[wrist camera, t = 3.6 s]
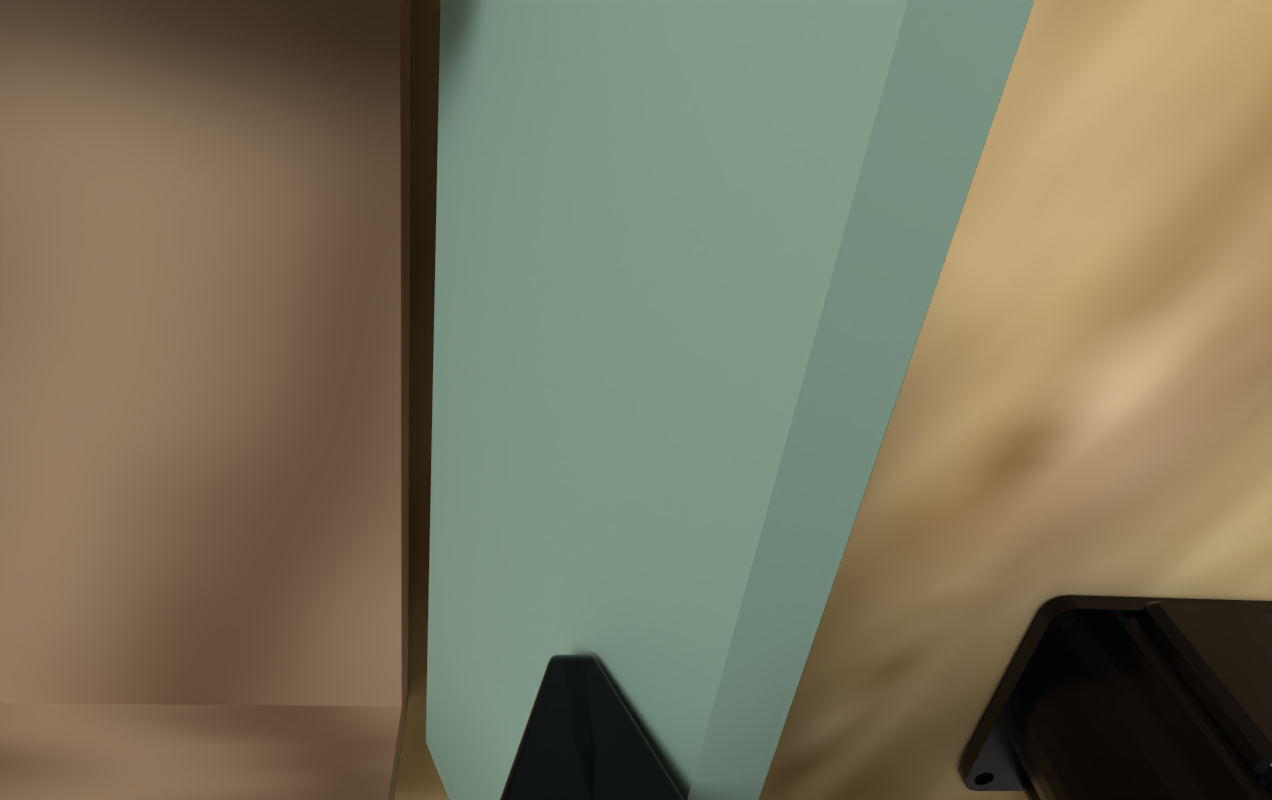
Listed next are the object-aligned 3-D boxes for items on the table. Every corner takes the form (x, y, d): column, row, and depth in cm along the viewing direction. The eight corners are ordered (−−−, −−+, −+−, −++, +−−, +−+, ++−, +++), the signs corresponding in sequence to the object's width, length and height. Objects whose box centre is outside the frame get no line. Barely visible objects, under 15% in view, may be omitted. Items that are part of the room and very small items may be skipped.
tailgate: (425, 741, 18) (590, 1152, 13) (444, -195, 10) (939, -115, 4) (472, 725, 19) (649, 1115, 13) (529, -182, 10) (1067, -95, 5)
